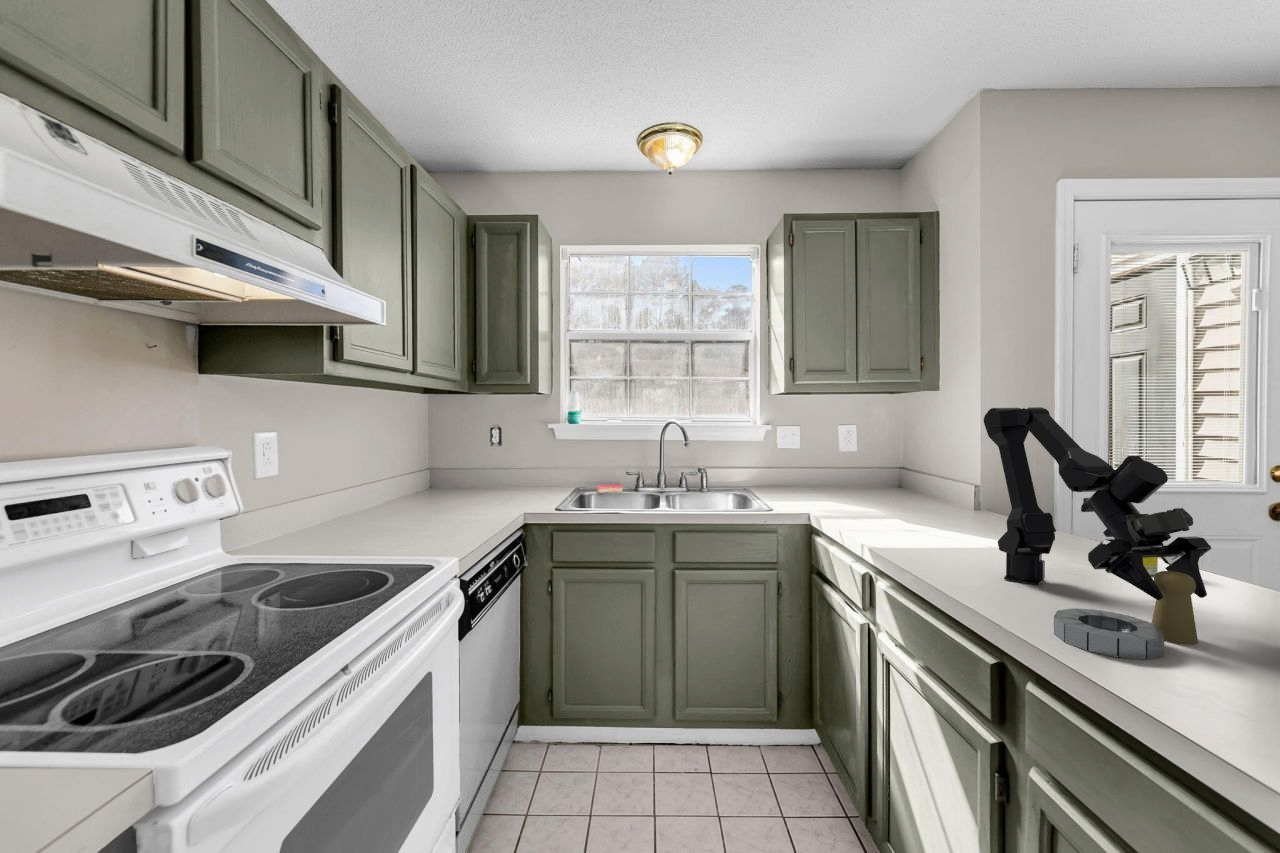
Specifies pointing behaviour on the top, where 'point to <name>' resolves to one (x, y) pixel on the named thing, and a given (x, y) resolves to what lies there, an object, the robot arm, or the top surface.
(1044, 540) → the robot arm
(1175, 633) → the cork
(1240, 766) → the top surface
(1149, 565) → the supplement bottle
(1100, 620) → the ring
